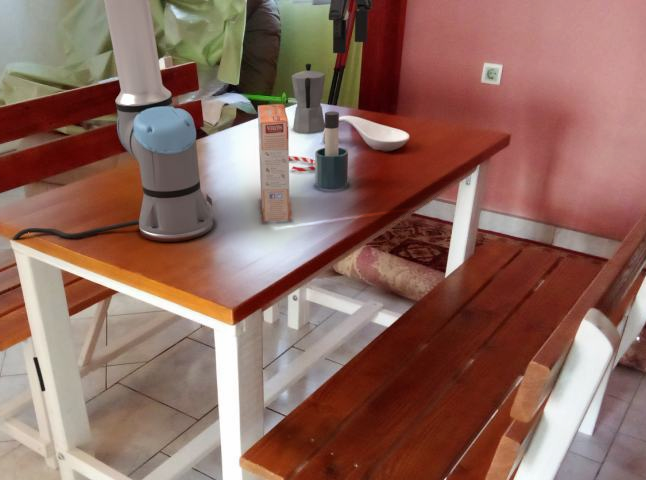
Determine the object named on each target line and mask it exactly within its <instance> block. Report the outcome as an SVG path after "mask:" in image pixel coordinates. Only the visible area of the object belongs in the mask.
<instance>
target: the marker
mask: <svg viewBox="0 0 646 480" xmlns="http://www.w3.org/2000/svg"><path fill="white" fill-rule="evenodd" d="M339 117H340V112H339V111H332V110H331V111H326V112H324V123H325V128H324V130H325V142H324V148H325V156H338V147H339V136H340V135H339V132H340V131H339V130H340V129H339V127H340V123H339Z"/></svg>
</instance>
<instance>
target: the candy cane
mask: <svg viewBox="0 0 646 480" xmlns="http://www.w3.org/2000/svg"><path fill="white" fill-rule="evenodd" d="M295 161H296V162H305V163H309V164H311V165H310V166H305V167H304V166H302V167H299V166H292V167H291V170H292V171H296V172H311V171H314V170H315V159H313V158H309V157H303V156H295V155H289V162H295Z"/></svg>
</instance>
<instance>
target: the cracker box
mask: <svg viewBox="0 0 646 480" xmlns="http://www.w3.org/2000/svg"><path fill="white" fill-rule="evenodd" d="M286 111H287V110H286V106H285V104H283V103H273V104H261V105H257V125H258V150H259V153H258V155H259V176H260V177H259V179H260V200H261V209H262V212H261V213H262V219H263V220H262V221H263V222H264V223H266V222H272V221H273V222H274V221H288V220H291V210H290V208H291V207H290V206H291V205H290V204H291V202H290V161H289V156H290V154H289V153H290V151H289V150H290V149H289V148H290V147H289V146H290V145H289V144H290V143H289V141H290V140H289V119H288V115H287V112H286Z"/></svg>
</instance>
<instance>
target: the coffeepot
mask: <svg viewBox="0 0 646 480" xmlns="http://www.w3.org/2000/svg"><path fill="white" fill-rule="evenodd" d="M304 66H305V70H302V71H299V72H296V73H294V74H292V75H291V81H292V87H293V88H292V89H293V93H294V100H295V101H296V107H295V112H294V117H293V118H294V119H293V125H292V129H293V131H294V132H296V133H299V134H317V133H320V132H322V131H324V130H325V116H324V112H323V106H322V105H321V100H322V99H323V95H324V87H325V79H326V74H325V73H323V72H322V71H317V70H311V69H312V64H311V63H306V64H304Z"/></svg>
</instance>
